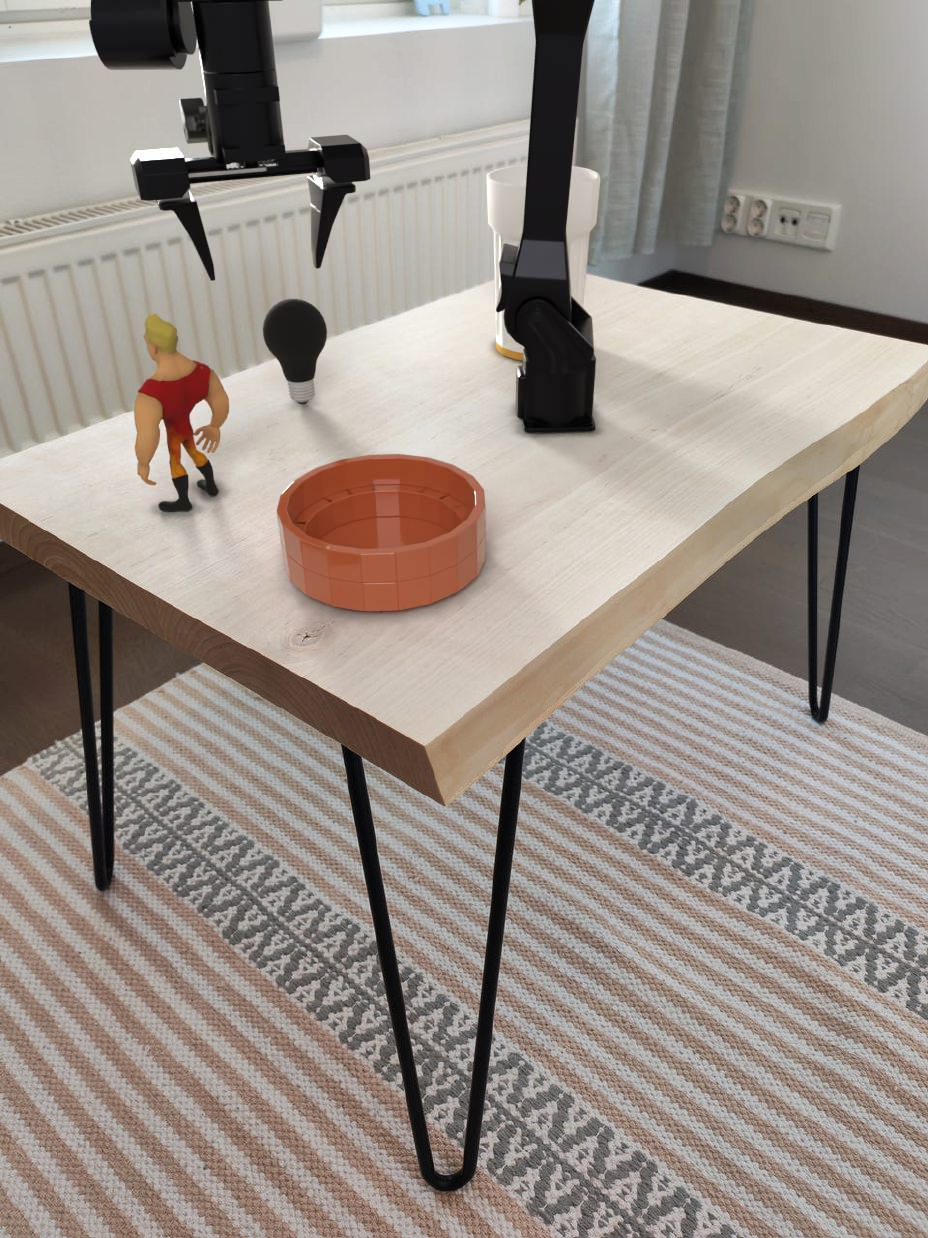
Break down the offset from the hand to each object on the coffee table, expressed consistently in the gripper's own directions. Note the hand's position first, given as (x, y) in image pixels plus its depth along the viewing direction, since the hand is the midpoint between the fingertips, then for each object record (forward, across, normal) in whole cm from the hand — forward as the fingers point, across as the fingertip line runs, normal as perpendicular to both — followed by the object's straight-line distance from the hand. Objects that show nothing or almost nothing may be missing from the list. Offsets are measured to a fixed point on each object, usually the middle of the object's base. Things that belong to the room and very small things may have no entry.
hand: (265, 273), depth 85 cm
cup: (+13, -29, -7) cm, 33 cm away
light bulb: (+13, -2, -1) cm, 13 cm away
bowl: (+13, -2, +29) cm, 32 cm away
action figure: (+13, +10, +14) cm, 22 cm away
